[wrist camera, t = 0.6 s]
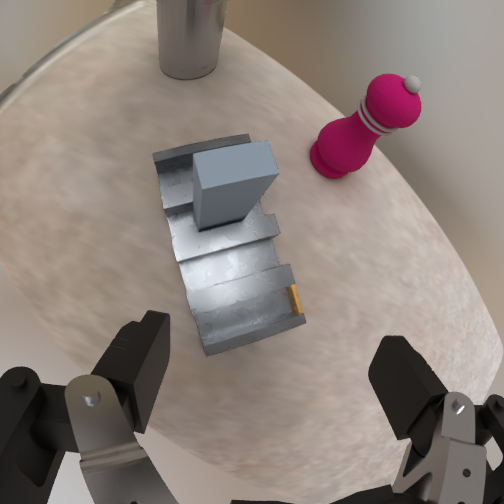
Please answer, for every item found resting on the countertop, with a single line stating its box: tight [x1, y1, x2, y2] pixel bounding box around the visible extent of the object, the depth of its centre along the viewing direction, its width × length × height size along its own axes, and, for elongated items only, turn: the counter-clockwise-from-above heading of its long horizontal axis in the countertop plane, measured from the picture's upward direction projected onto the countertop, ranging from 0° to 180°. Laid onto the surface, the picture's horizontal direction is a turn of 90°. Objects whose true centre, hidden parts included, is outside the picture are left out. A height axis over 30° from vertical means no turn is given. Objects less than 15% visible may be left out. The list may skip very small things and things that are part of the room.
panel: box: [193, 140, 279, 233], centre depth 24 cm, size 2×5×15 cm, turn 107°
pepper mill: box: [310, 74, 421, 179], centre depth 27 cm, size 7×7×20 cm
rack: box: [153, 134, 306, 357], centre depth 30 cm, size 22×11×5 cm, turn 17°
